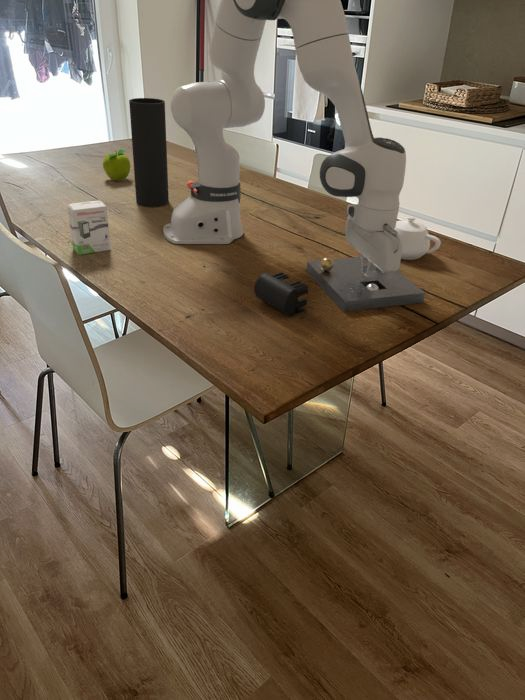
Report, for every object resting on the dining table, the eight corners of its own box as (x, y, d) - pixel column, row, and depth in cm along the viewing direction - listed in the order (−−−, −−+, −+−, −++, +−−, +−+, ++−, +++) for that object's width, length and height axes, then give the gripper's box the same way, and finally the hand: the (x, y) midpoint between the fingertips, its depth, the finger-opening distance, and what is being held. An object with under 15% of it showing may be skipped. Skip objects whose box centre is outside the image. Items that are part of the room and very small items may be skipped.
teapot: (360, 246, 156) (365, 211, 150) (385, 237, 163) (391, 202, 158) (422, 270, 144) (430, 232, 139) (447, 258, 152) (455, 222, 146)
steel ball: (377, 296, 131) (374, 301, 128) (364, 291, 131) (361, 296, 129) (382, 284, 129) (379, 289, 126) (369, 279, 129) (365, 284, 127)
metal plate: (343, 311, 123) (345, 301, 121) (306, 270, 140) (307, 261, 139) (423, 302, 128) (425, 292, 127) (377, 264, 146) (379, 255, 145)
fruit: (137, 179, 200) (135, 150, 195) (118, 185, 193) (115, 155, 188) (118, 174, 204) (115, 146, 199) (99, 180, 197) (96, 150, 192)
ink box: (78, 255, 141) (72, 209, 135) (72, 248, 145) (66, 203, 138) (111, 250, 145) (107, 205, 139) (105, 243, 149) (100, 199, 142)
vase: (147, 209, 173) (140, 104, 158) (130, 200, 180) (122, 99, 164) (175, 203, 179) (171, 102, 163) (157, 195, 186) (152, 97, 170)
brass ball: (322, 273, 133) (324, 261, 131) (317, 268, 136) (318, 256, 134) (334, 272, 134) (336, 260, 132) (329, 267, 136) (331, 254, 135)
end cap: (252, 303, 124) (254, 275, 120) (276, 295, 128) (278, 267, 124) (283, 321, 118) (286, 292, 114) (307, 312, 122) (310, 283, 118)
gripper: (413, 232, 116) (401, 292, 124) (368, 202, 133) (360, 257, 140) (386, 234, 115) (376, 295, 122) (344, 203, 131) (337, 259, 138)
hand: (367, 274), depth 131 cm, fingers closed
